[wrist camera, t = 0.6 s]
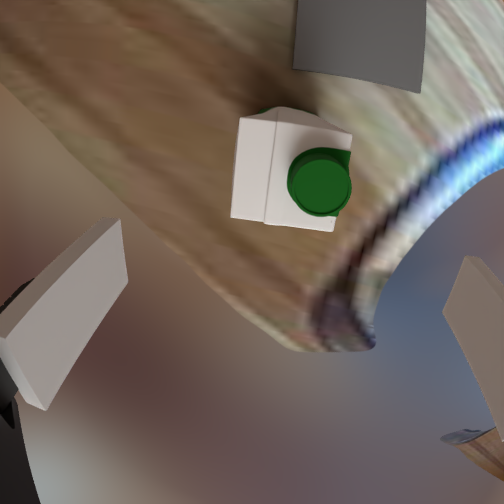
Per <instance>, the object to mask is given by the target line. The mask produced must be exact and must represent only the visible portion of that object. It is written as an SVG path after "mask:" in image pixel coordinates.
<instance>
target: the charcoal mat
mask: <svg viewBox="0 0 504 504" xmlns="http://www.w3.org/2000/svg"><path fill="white" fill-rule="evenodd" d="M425 31H426V0H298V9H297V22H296V35H295V47H294V58H293V69H295V70H303V71H311V72H318V73H325V74H331V75H337V76H343V77H349V78H354V79H359V80H364V81H369V82H374V83H378V84H383V85H387V86H391V87H395V88H399V89H403V90H407V91H411V92H414V93H420V92H421V83H422V73H423V62H424V49H425Z"/></svg>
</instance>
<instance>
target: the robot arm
mask: <svg viewBox="0 0 504 504" xmlns="http://www.w3.org/2000/svg"><path fill="white" fill-rule="evenodd" d="M127 283H128V277H127V270H126V264H125V256H124V248H123V241H122V232H121V222H120V219H118V218H105V217H103V218H101V219H100V220H99V221H98V222H97V223H95V224H94V225H93V226H92V227H91V228H89V229H88V230H87V231H86V232H85V233H84V234H83V235H81V236H80V237H79V238H78V239H77V240H76V241H75V242H74V243H72V244H71V245H70V246H69V247H68V248H67V249H66V250H65V251H63V252H62V253H61V254H60V255H59V256H58V257H57V258H56V259H55V260H54V261H53V262H52V263H50V264H49V265H48V266H47V267H46V268H45V269H44V270H43V271H42V272H41V273H40V274H39V275H38V276H37V277H36V278H33V279H32V280H30V281H28V282H26V283H25V284H23V285H21V286H20V287H19V288H18V289H17V290H16V291H15V292H14V293H13V294H12V297H9V298H8V299H7V301H5V302H4V305H2V306H1V307H0V504H41V503H40V500H39V497H38V494H37V491H36V487H35V484H34V480H33V477H32V473H31V469H30V466H29V462H28V458H27V454H26V449H25V444H24V439H23V434H22V429H21V423H20V417H19V411H18V405H17V402H16V400H15V398H14V396H15V394H16V392H17V391H18V390H19V392H20V393H21V394H22V396H23V398H24V399H25V401H26V402H27V403H29V404H31V405H33V406H36V407H38V408H40V409H42V410H45V411H46V410H47V409H48V407H49V405H50V403H51V402H52V400H53V398H54V396H55V395H56V393H57V391H58V390H59V388H60V386H61V384H62V383H63V381H64V379H65V378H66V376H67V374H68V373H69V371H70V369H71V368H72V366H73V364H74V363H75V361H76V359H77V358H78V357H79V355H80V353H81V352H82V350H83V349H84V347H85V345H86V344H87V342H88V341H89V339H90V338H91V336H92V335H93V333H94V331H95V330H96V328H97V327H98V325H99V324H100V322H101V321H102V319H103V318H104V316H105V315H106V313H107V312H108V310H109V309H110V307H111V306H112V304H113V303H114V301H115V300H116V299H117V297H118V296H119V294H120V293H121V291H122V290H123V289H124V287H125V286H126V284H127ZM442 313H443V315H444V317H445V318H446V320H447V322H448V324H449V326H450V328H451V329H452V331H453V333H454V335H455V337H456V339H457V341H458V343H459V345H460V346H461V349H462V351H463V353H464V355H465V357H466V359H467V361H468V363H469V365H470V367H471V369H472V371H473V373H474V375H475V378H476V380H477V382H478V384H479V386H480V388H481V391H482V393H483V396H484V398H485V400H486V403H487V405H488V407H489V410H490V412H491V415H492V417H493V419H494V422H495V425H496V427H497V430H498V433H499V435H500V438H501V441H502V442H503V441H504V285H503V284H502V283H501V282H500V281H499V279H498V278H497V277H496V276H495V275H494V274H493V272H492V271H491V270H490V269H489V268H488V267H487V266H486V265H485V263H484V262H483V261H482V260H481V259H480V258H479V257H473V256H466V255H465V257H464V260H463V263H462V266H461V268H460V271H459V273H458V276H457V278H456V281H455V283H454V286H453V288H452V291H451V293H450V295H449V298H448V300H447V302H446V305H445V307H444V309H443V311H442Z"/></svg>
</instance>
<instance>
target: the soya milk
mask: <svg viewBox="0 0 504 504" xmlns="http://www.w3.org/2000/svg"><path fill="white" fill-rule="evenodd" d="M351 141H352V134H351V133H349V132H346V131H344V130H342V129H340V128H338V127H337V126H335V125H332V124H330V123H328V122H326V121H324V120H323V119H321V118H320V117H318V116H316V115H315V114H313V113H311V112H308V111H304V110H300V109H295V108H289V107H272V108H266V109H261V110H260V111H259V113H258V114H257V115H252V116H247V117H240V121H239V126H238V132H237V137H236V144H235V154H234V164H233V176H232V197H231V217H232V218H239V219H247V220H254V221H262V222H264V223H265V224H271V225H283V226H291V227H298V228H306V229H314V230H321V231H329V232H332V231H333V230H334V225H335V220H336V217H337V216H338V214H339V211H340V210H341V209H343V208H344V206H345V205H346V204H347V202H348V200H349V198H350V195H351V190H352V184H351V179H350V177H349V167H348V165H349V160H350V155H351V152H350V146H351Z"/></svg>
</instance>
